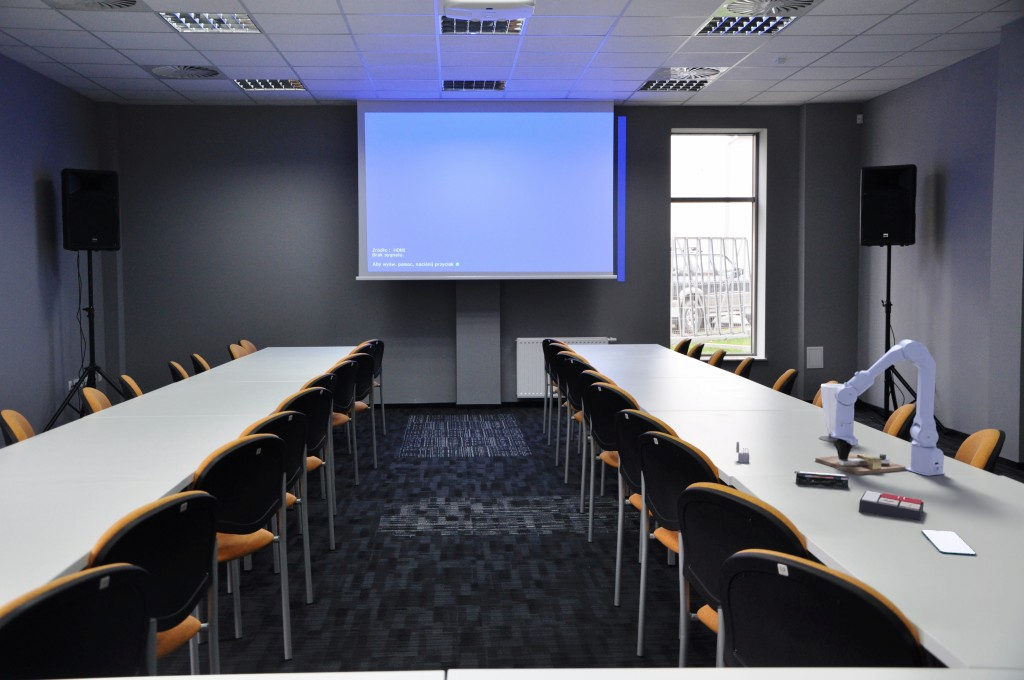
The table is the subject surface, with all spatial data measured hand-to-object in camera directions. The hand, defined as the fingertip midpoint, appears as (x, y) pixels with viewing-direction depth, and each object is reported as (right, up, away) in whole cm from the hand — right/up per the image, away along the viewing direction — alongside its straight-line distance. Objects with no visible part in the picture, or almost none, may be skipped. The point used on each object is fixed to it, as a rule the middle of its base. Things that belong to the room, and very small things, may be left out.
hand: (842, 461), depth 265 cm
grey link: (+7, -1, -1) cm, 7 cm away
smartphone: (-6, -9, -75) cm, 76 cm away
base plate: (+7, -2, +2) cm, 7 cm away
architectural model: (-28, -2, +12) cm, 30 cm away
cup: (+16, +2, +46) cm, 49 cm away
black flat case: (-14, -5, -24) cm, 29 cm away
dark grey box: (-8, -7, -49) cm, 50 cm away
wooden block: (+7, -1, -4) cm, 8 cm away
